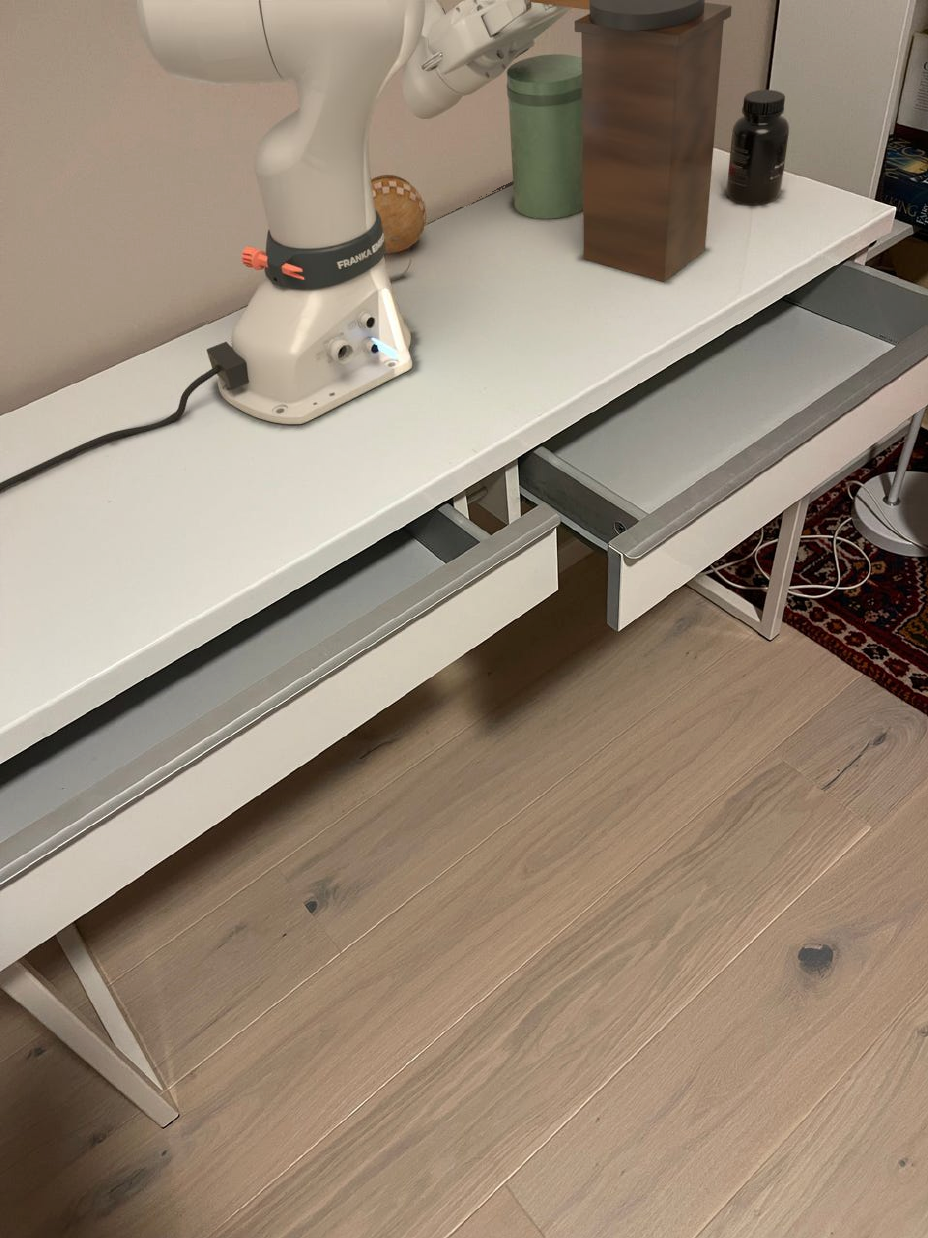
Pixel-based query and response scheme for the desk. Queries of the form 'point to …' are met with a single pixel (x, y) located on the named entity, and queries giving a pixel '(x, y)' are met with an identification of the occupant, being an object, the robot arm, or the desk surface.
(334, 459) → the desk surface
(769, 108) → the supplement bottle
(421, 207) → the toy
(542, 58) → the tin
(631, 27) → the lid
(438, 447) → the desk surface
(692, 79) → the stand
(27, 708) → the desk surface
